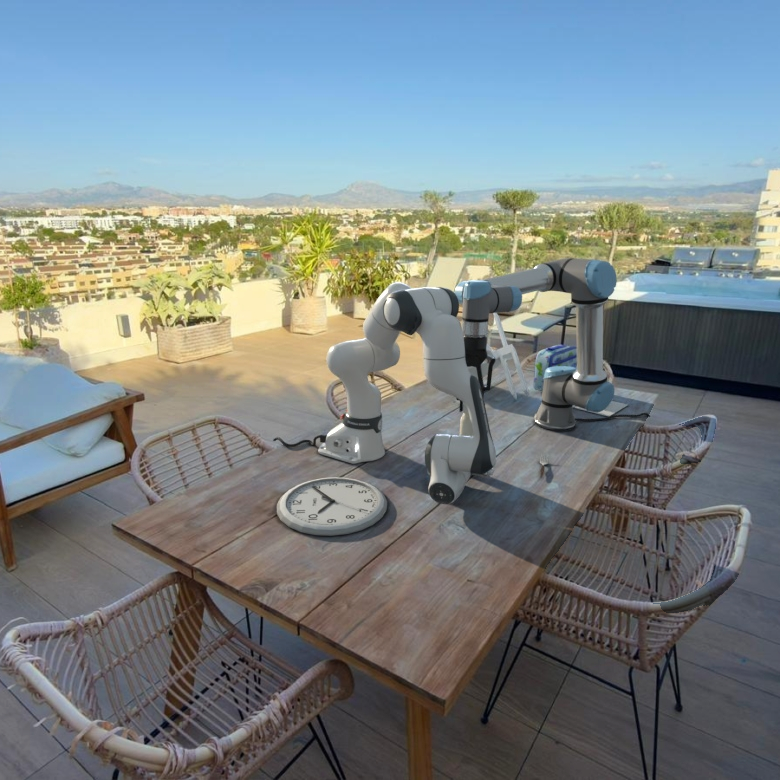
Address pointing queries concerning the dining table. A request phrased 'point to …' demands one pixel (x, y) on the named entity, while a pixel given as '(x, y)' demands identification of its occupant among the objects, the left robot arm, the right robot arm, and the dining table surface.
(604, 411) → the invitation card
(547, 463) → the fork
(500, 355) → the white plastic object
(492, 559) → the dining table surface
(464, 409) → the cap
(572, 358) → the lunch box
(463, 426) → the bottle
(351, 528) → the wall clock
